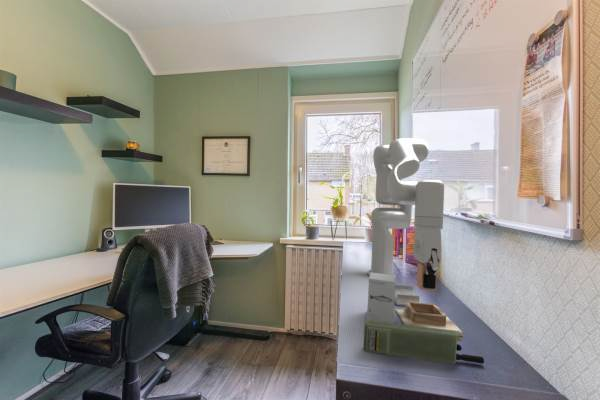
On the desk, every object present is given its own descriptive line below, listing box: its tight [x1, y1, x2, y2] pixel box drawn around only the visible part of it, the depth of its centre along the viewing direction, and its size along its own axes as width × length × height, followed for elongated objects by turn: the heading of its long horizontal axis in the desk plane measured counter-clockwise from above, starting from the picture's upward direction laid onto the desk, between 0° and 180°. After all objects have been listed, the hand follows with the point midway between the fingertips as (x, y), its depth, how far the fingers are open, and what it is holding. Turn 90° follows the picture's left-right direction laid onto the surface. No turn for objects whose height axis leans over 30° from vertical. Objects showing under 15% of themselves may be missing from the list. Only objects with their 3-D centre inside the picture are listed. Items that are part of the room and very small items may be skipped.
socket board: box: [395, 302, 464, 337], centre depth 75 cm, size 12×14×4 cm
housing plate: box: [394, 283, 420, 307], centre depth 90 cm, size 8×7×4 cm
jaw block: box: [416, 261, 438, 291], centre depth 76 cm, size 4×4×7 cm
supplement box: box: [366, 272, 397, 324], centre depth 76 cm, size 7×7×13 cm
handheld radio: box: [363, 319, 485, 365], centre depth 59 cm, size 7×3×25 cm
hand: (426, 284), depth 76 cm, fingers closed on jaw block, 4 cm apart
